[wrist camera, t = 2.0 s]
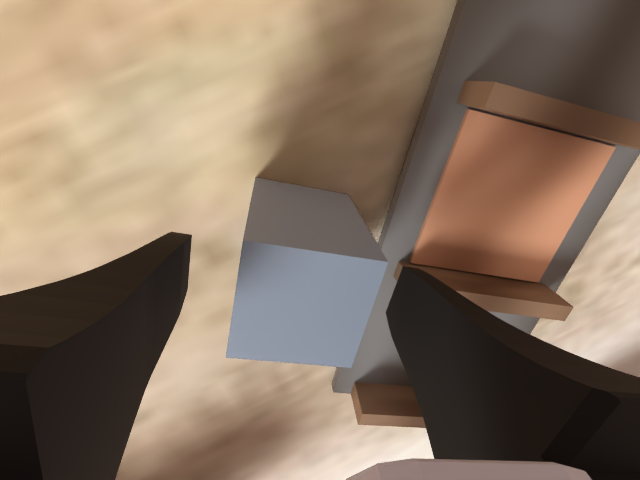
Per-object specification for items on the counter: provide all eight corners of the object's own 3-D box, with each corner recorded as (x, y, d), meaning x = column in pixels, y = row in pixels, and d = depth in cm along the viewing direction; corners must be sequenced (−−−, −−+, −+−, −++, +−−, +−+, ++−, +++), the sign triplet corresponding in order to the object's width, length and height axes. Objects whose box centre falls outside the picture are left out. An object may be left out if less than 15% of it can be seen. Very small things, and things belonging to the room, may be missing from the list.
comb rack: (775, -102, 12) (897, -145, 10) (483, 394, 22) (508, 433, 19) (531, -223, 10) (608, -313, 8) (331, 383, 20) (339, 425, 17)
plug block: (348, 194, 15) (388, 261, 10) (326, 272, 17) (351, 367, 11) (255, 176, 14) (242, 240, 9) (242, 260, 16) (225, 357, 10)
